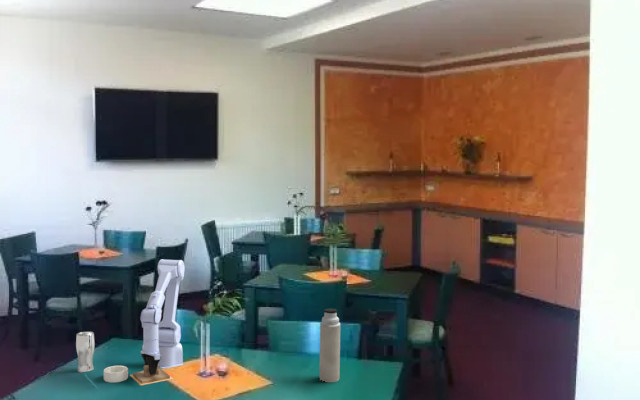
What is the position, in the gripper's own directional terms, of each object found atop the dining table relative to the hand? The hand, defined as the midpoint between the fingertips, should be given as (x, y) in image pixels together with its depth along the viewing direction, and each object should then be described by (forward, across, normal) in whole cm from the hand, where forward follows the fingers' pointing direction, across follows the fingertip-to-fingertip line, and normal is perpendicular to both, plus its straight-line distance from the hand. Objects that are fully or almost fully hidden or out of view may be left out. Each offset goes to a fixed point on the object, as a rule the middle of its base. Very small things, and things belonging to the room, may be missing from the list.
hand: (151, 372), depth 256 cm
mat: (+2, 0, 0) cm, 2 cm away
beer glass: (+2, -23, -19) cm, 30 cm away
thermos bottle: (+2, +38, +59) cm, 70 cm away
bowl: (+2, -6, -12) cm, 14 cm away
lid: (+2, 0, 0) cm, 2 cm away
